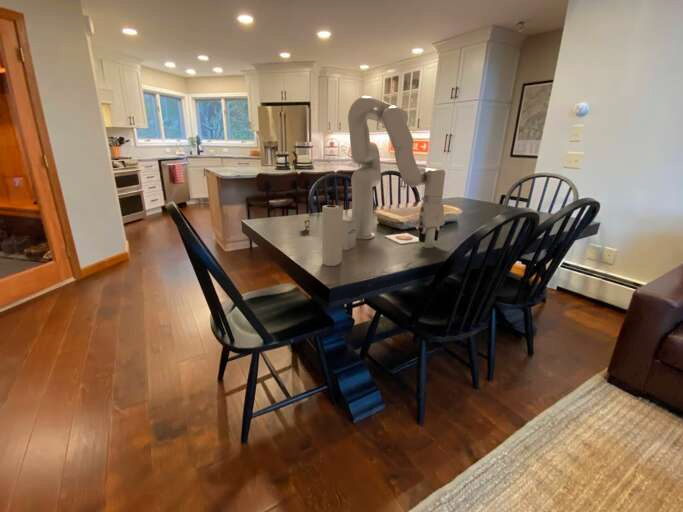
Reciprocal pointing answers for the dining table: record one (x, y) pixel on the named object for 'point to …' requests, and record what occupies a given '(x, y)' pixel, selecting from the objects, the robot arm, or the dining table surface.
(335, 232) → the paper towel roll
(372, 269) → the dining table surface
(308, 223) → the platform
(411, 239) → the card
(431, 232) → the tube
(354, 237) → the white bottle
